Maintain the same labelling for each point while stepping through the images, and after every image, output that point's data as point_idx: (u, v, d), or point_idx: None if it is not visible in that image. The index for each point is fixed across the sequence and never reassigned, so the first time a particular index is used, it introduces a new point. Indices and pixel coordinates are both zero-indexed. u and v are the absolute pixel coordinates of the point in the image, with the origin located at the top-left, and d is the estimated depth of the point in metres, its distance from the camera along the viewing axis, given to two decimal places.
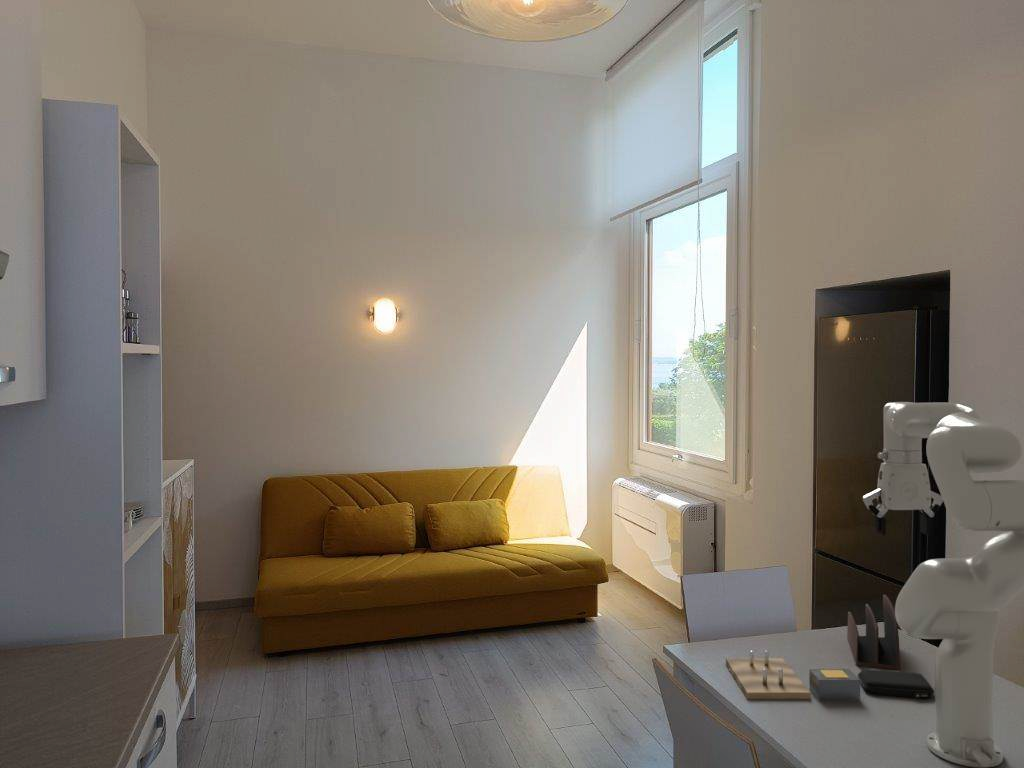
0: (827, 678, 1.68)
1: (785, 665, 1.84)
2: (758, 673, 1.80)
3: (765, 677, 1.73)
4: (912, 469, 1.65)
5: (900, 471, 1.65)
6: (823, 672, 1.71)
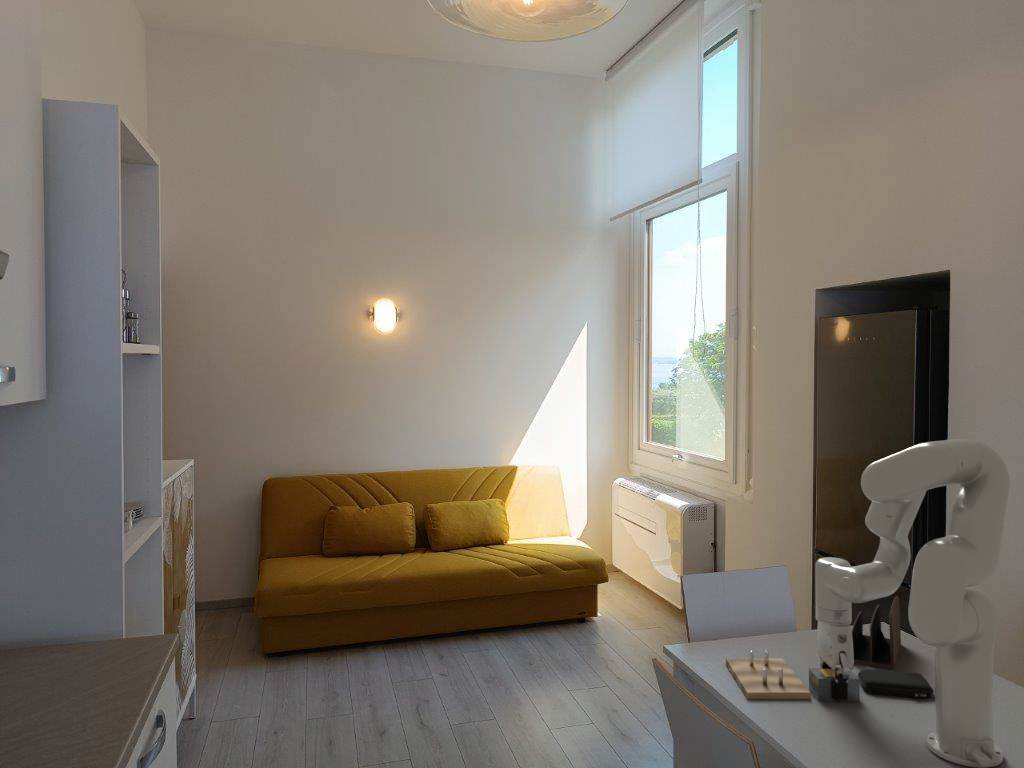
0: (826, 677, 1.68)
1: (785, 665, 1.84)
2: (758, 673, 1.80)
3: (765, 677, 1.73)
4: None
5: None
6: (822, 671, 1.71)
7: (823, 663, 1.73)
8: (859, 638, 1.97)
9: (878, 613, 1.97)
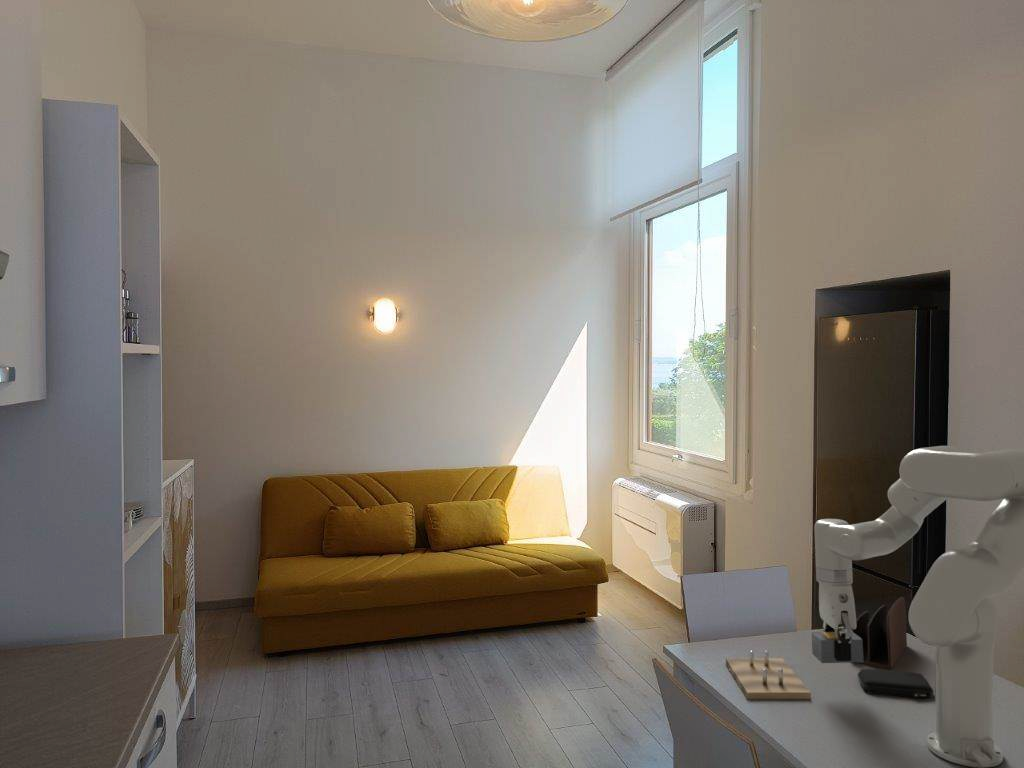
0: (829, 639, 1.67)
1: (785, 665, 1.84)
2: (758, 673, 1.80)
3: (765, 677, 1.73)
4: None
5: None
6: (825, 634, 1.70)
7: (826, 626, 1.73)
8: (861, 638, 1.97)
9: (881, 613, 1.97)
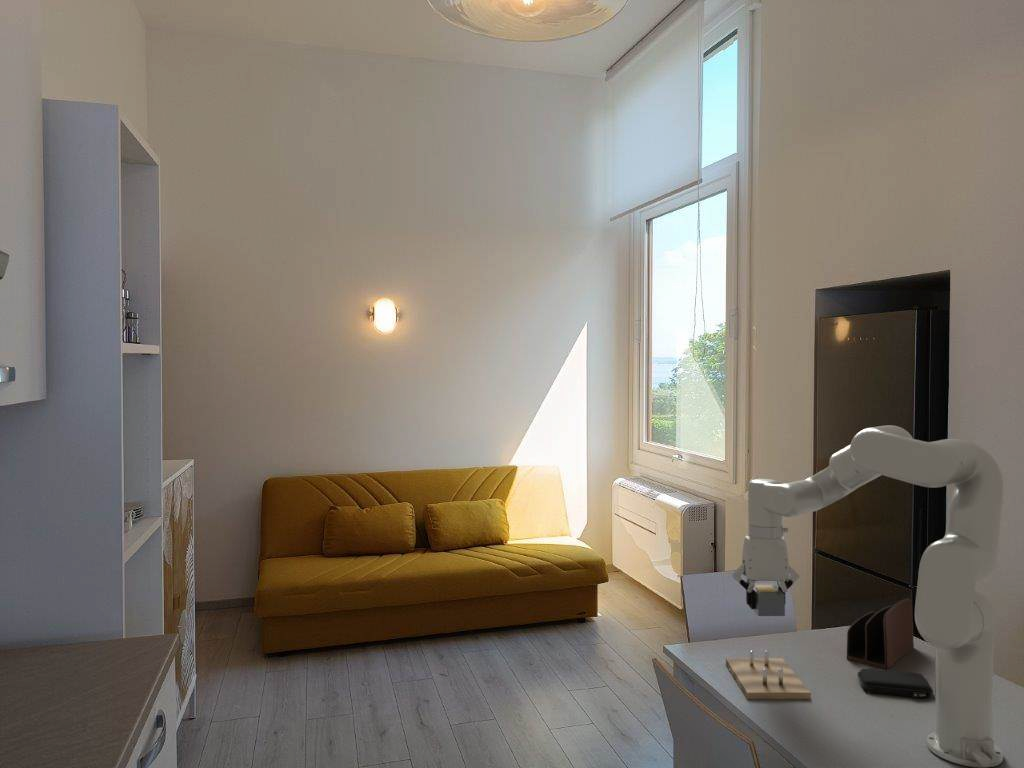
0: (778, 591, 1.76)
1: (785, 665, 1.84)
2: (758, 673, 1.80)
3: (765, 677, 1.73)
4: None
5: None
6: (765, 590, 1.76)
7: (753, 586, 1.77)
8: (864, 637, 1.97)
9: (885, 614, 1.96)
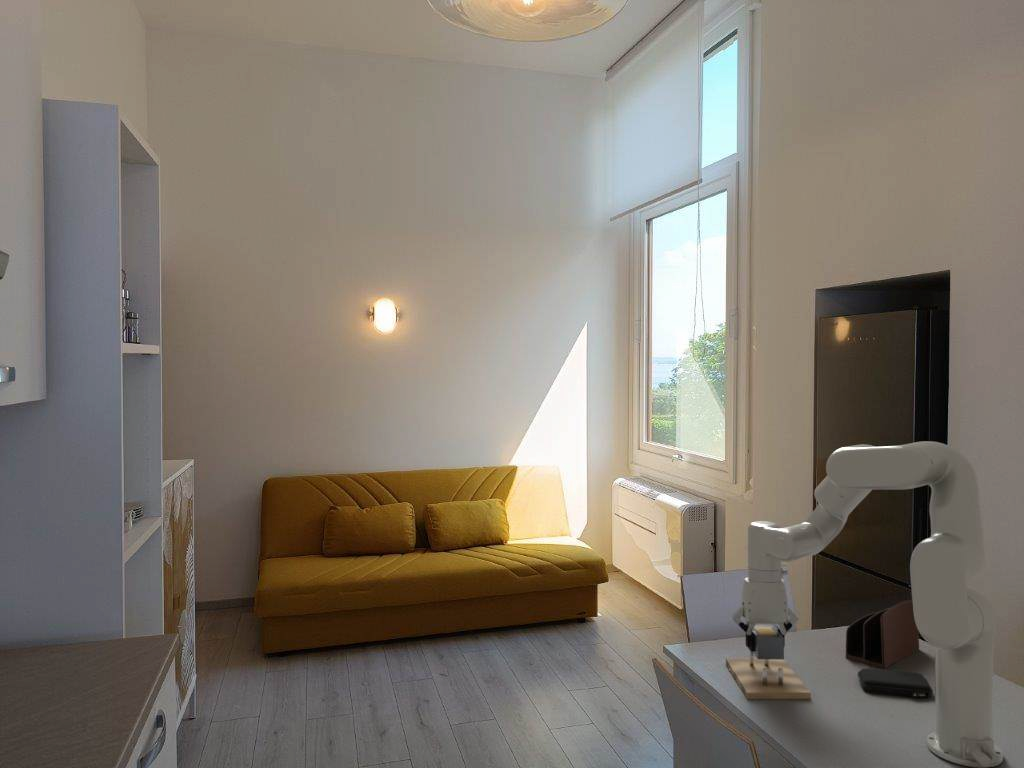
0: (778, 634, 1.76)
1: (785, 665, 1.84)
2: (758, 673, 1.80)
3: (765, 677, 1.73)
4: None
5: None
6: (764, 633, 1.77)
7: (753, 628, 1.78)
8: None
9: None
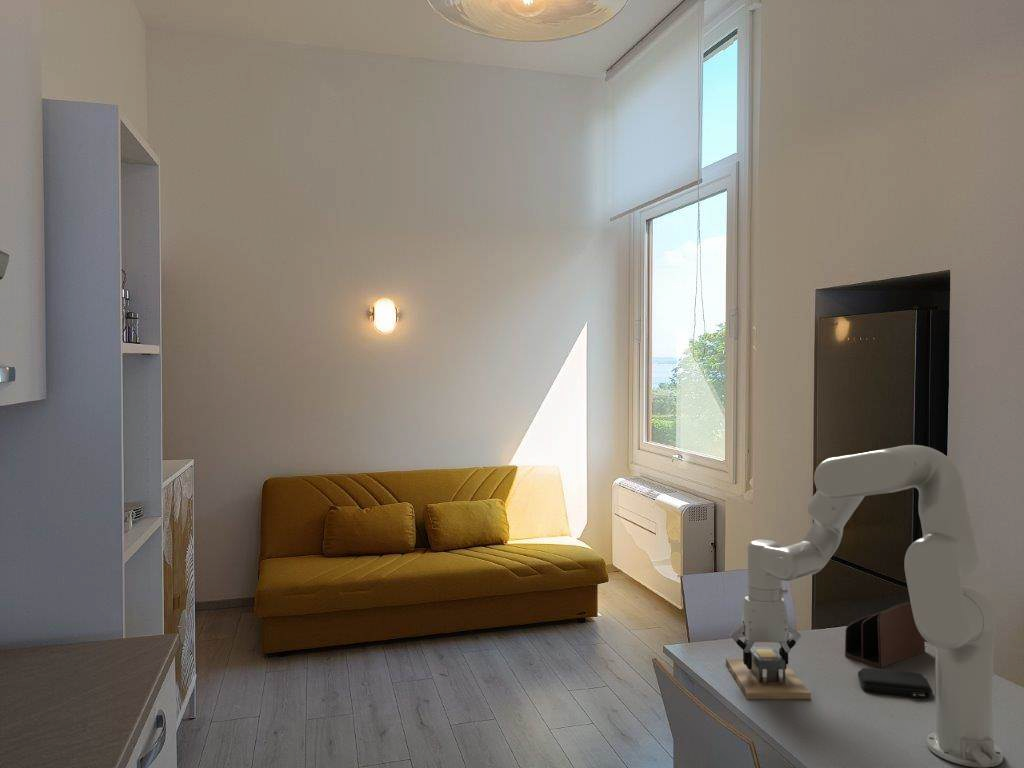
0: (779, 657, 1.76)
1: None
2: None
3: (765, 677, 1.73)
4: None
5: None
6: (765, 656, 1.76)
7: (751, 646, 1.78)
8: None
9: None
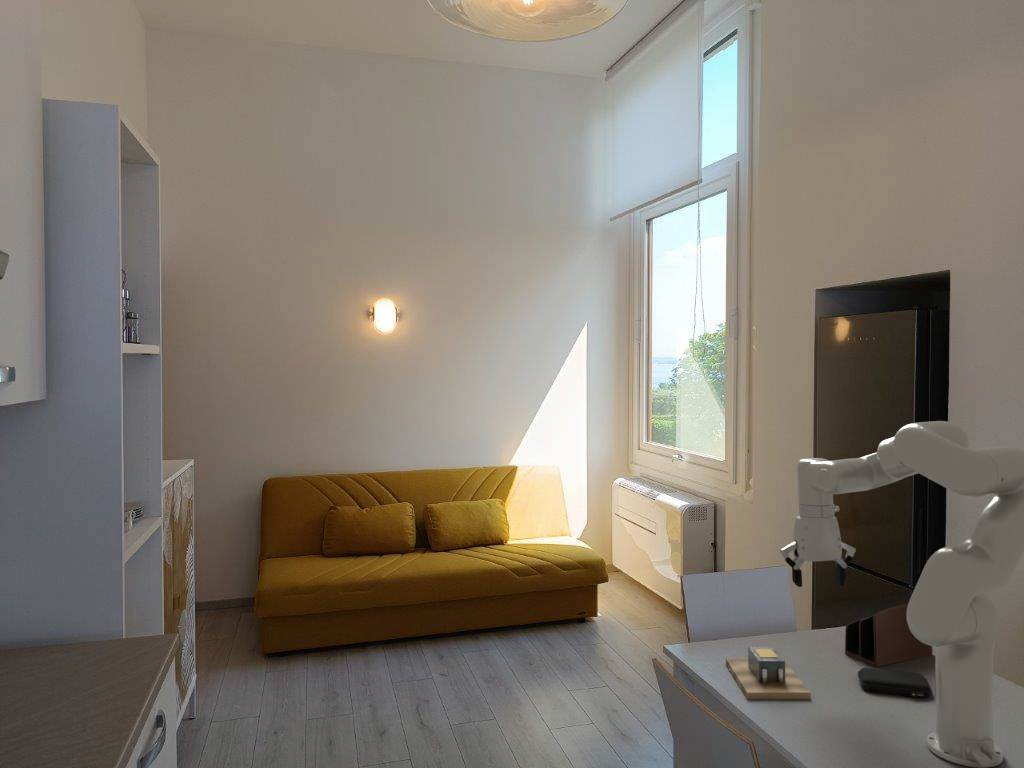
0: (779, 657, 1.76)
1: (785, 665, 1.84)
2: None
3: (765, 677, 1.73)
4: None
5: None
6: (765, 656, 1.76)
7: (801, 564, 1.75)
8: None
9: None
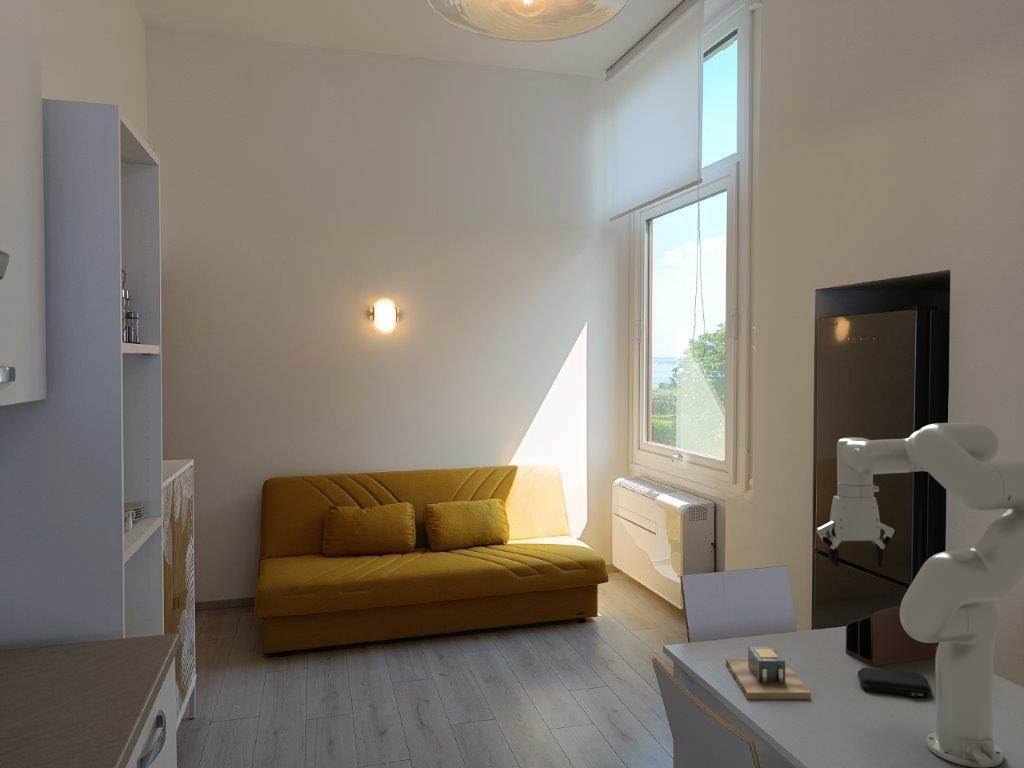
0: (779, 657, 1.76)
1: (785, 665, 1.84)
2: None
3: (765, 677, 1.73)
4: None
5: None
6: (765, 656, 1.76)
7: None
8: None
9: None
